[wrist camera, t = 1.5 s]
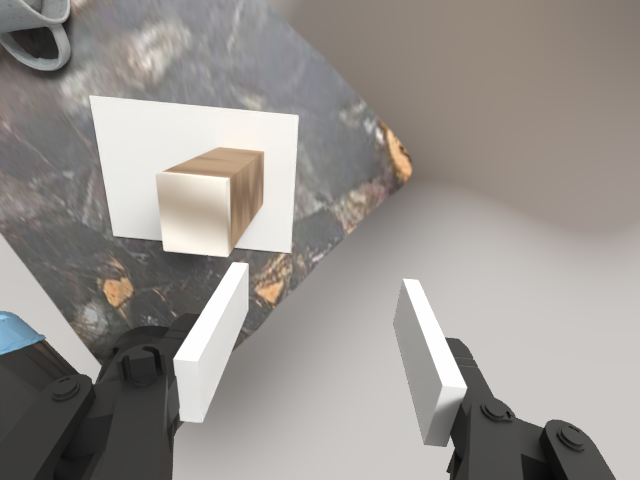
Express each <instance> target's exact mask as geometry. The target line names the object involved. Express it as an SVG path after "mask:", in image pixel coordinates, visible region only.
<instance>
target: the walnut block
mask: <svg viewBox="0 0 640 480" xmlns="http://www.w3.org/2000/svg"><path fill="white" fill-rule="evenodd" d="M155 176H156V185H157V194H158V203H159V212H160V221H161V231H162V240H163V249H164V251H170V252H180V253H190V254H201V255H211V256H221V257H228V256H229V254H230V253H231V251H232V250H233V248H234V247H235V245H236V244H237V242H238V241H239V239H240V238H241V236H242V235H243V233H244V232H245V230H246V229H247V227H248V226H249V224H250V223H251V221H252V220H253V218H254V217H255V215H256V214H257V212H258V211H259V210H260V208H261V207H262V205H263V191H264V151H255V150H245V149H234V148H224V147H218V148H215V149H213V150H211V151H208V152H206V153H204V154H202V155H199V156H197V157H195V158H192V159H190V160H188V161H185V162H183V163H181V164H178V165H176V166H174V167H171V168H169V169H167V170H165V171H162V172H160V173H158V174H155Z"/></svg>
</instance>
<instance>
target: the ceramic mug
mask: <svg viewBox="0 0 640 480" xmlns="http://www.w3.org/2000/svg"><path fill="white" fill-rule="evenodd" d="M70 7H71V3H70V0H0V43H1V44H2V45H3V46H4V47H5V48H6V50H7V51H8V52H9V53H10V54H11V55H13V56H14V57H15V58H16V59H17V60H19V61H20V62H22V63H23V64H25V65H27V66H29V67H32V68H34V69H38V70H42V71H51V70H56V69H59V68H61V67H62V66H63V65H64V64H66V63H67V62H68V60H69V58H70V54H71V47H70V43H69V40H68V38H67V35H66V33H65V30H64V28H63V26H62V24H61V23H63V22H65V21H66V20H67V18H68V17H69V14H70ZM45 26H46V27H48V28H49V29H50V30H51V31H52V33H53V36H54V39H55V41H56V44H57V47H58V50H59V56H58V59H43V58H35V57H33V56H32V55H30V54H29V53H27V52H26V51H25V50H24V49H23V48H22V47H21V46H19V45H18V43H17V42H16V41H15V40H14V39H13V37H12V36H11V35H10V33H9V32H12V31H17V30H22V29H31V28H39V27H45Z"/></svg>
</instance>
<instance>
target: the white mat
mask: <svg viewBox="0 0 640 480" xmlns="http://www.w3.org/2000/svg"><path fill="white" fill-rule="evenodd" d="M89 97H90V103H91V109H92V114H93V120H94V126H95V132H96V137H97V143H98V149H99V155H100V161H101V166H102V172H103V178H104V184H105V189H106V195H107V201H108V207H109V212H110V218H111V224H112V230H113V235H114V236H119V237H129V238H140V239H150V240H160V241H163V240H162V231H161V221H160V212H159V203H158V194H157V185H156V176H155V174H158V173H160V172H162V171H165V170H167V169H169V168H171V167H174V166H176V165H178V164H181V163H183V162H185V161H188V160H190V159H192V158H195V157H197V156H199V155H202V154H204V153H206V152H208V151H211V150H213V149H215V148H218V147H224V148H234V149H245V150H255V151H264V191H263V205H262V207H261V208H260V210H259V211H258V212H257V214H256V215H255V217H254V218H253V220H252V221H251V223H250V224H249V226H248V227H247V229H246V230H245V232H244V233H243V235H242V236H241V238H240V239H239V241H238V242H237V244H236V245H235V247H234V248H243V249H253V250H263V251H274V252H284V253H291V241H292V224H293V207H294V189H295V172H296V155H297V138H298V120H299V115H290V114H280V113H269V112H259V111H248V110H238V109H227V108H217V107H206V106H196V105H185V104H175V103H164V102H154V101H143V100H133V99H122V98H112V97H101V96H89Z"/></svg>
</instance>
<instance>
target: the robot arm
mask: <svg viewBox="0 0 640 480" xmlns="http://www.w3.org/2000/svg"><path fill="white" fill-rule="evenodd" d="M247 312H248V264H247V263H236V262H233V263H232V265H231V266H230V268H229V270H228V271H227V273H226V274H225V276H224V278H223V279H222V281H221V282H220V284H219V286H218V287H217V289H216V291H215V292H214V294H213V295H212V297H211V299H210V300H209V302H208V304H207V305H206V307H205V308H204V310H203V312H202V313H201V315H199V314H189V313H185V314H184V315H183V316H181V317H180V318H178V319H177V320H175V322H174V323H173V324H172V326H171V327H170V328H166V327H160V326H144V327H138V328H135V329H132V330H130V331H128V332H126V333H125V334H123V335H122V336H121V337H120V338H119V339H118V340H117V341H116V343H115V344H114V345H113V346H112V347H111V348H110V350H109V351H108V353H107V355H106V357H105V359H104V362H103V365H102V367H101V370H100V373H99V375H98V378H97V380H96V383H95V384H94V385H93V384H92V380H91V378H90V377H88V376H87V375H83V374H79V373H78V372H77V371H76V370H75V369H74V368H73V367H72V366H71V365H70V364H69V363H68V362H67V361H66V360H65V359H64V358H63V357H62V356H61V355H60V354H59V353H58V352H57V351H55V349H54V348H53V347H52V346H50V344H49V343H48V342H47V341H46V340H44V339H45V338H46V337H45V336H44V335H40V334H38V333H37V332H36V331H35V330H34V329H32V328H31V327H30V326H29V325H28V324H27V323H25V322H24V321H23V320H22V319H20V318H19V317H18V316H17V315H15V314H13V313H11V312H6V311H0V480H172V470H173V444H174V435H175V433H176V431H177V429H178V428H179V427H180V426H181V425H182V424H183V423H184V422H185V421H187V422H198V423H203V420H204V418H205V415H206V412H207V410H208V408H209V405H210V403H211V401H212V398H213V395H214V393H215V391H216V388H217V386H218V383H219V381H220V378H221V376H222V373H223V371H224V369H225V366H226V364H227V361H228V359H229V356H230V354H231V351H232V349H233V346H234V344H235V342H236V339H237V337H238V334H239V332H240V329H241V327H242V324H243V322H244V319H245V317H246V314H247ZM393 325H394V329H395V333H396V337H397V341H398V344H399V348H400V352H401V356H402V360H403V364H404V368H405V372H406V376H407V380H408V384H409V388H410V391H411V395H412V399H413V403H414V407H415V411H416V415H417V419H418V423H419V427H420V431H421V435H422V438H423V442H424V445H432V446H442V447H446V446H447V443H448V441H449V438H450V435H451V438H452V441H453V444H454V447H455V450H454V452H453V455H452V458H451V460H450V463H449V466H448V469H447V472H448V473H450V480H616V479H615V477H614V475H613V474H612V472H611V470H610V469H609V467H608V465H607V464H606V462H605V460H604V459H603V457H602V455H601V454H600V452H599V450H598V449H597V447H596V445H595V444H594V443H593V441H592V440H591V439H590V438H589V436H587V435H586V434H585V433H584V432H583V431H582V430H580V429H579V428H577V427H575V426H574V425H572V424H570V423H567V422H564V421H562V420H551V421H548V422H547V423H546V425H545V427H544V428H542V427H539V426H536V425H534V424H531V423H528V422H525V421H522V420H520V419H518V418H516V417H515V414H514V413H513V412H512V411H511V409H510V408H509V407H508V406H507V405H506V404H504V403H503V402H502V401H500V400H498V399H496V398H494V396H493V394H492V392H491V390H490V389H489V387H488V385H487V383H486V381H485V379H484V377H483V375H482V373H481V371H480V370H479V368H478V366H477V364H476V362H475V360H473V356H472V354H471V353H470V351H469V349H468V348H467V347H466V346H465V345H464V344H463V343H462V342H461V341H460V340H459V339H454V338H444V335H443V333H442V331H441V329H440V327H439V324H438V322H437V320H436V318H435V316H434V313H433V311H432V309H431V307H430V305H429V303H428V300H427V298H426V296H425V294H424V292H423V289H422V287H421V285H420V283H419V280H412V279H403V280H402V285H401V290H400V295H399V299H398V304H397V309H396V314H395V318H394V323H393Z"/></svg>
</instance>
